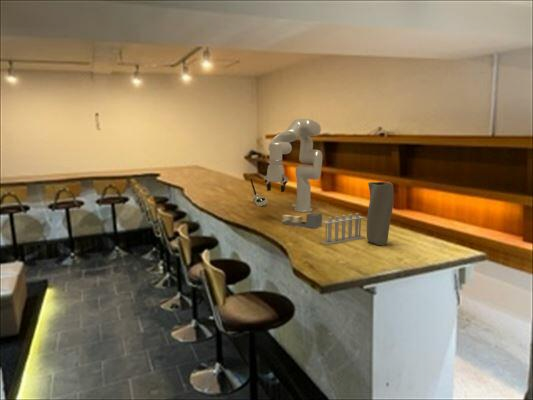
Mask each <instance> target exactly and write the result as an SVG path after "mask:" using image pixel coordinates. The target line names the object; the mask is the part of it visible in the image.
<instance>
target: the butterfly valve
mask: <svg viewBox="0 0 533 400" xmlns="http://www.w3.org/2000/svg"><path fill="white" fill-rule="evenodd" d="M249 180H250V184H251V187H252V190H253V197H252V202H253V203H254V204H255V205H256V206H257V207H261V206H265V205H267V204H268V203H269V201H268V199H267V197H262V196H261V194H259V193H257V191H256V188H255V185H254V181H253V179H252V178H251V177H250V178H249Z"/></svg>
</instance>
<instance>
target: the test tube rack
mask: <svg viewBox="0 0 533 400" xmlns="http://www.w3.org/2000/svg"><path fill="white" fill-rule="evenodd" d="M365 218H366V217H365V216H361V215H360V213H358V212H355V214H354V216H353V214H352V213H349V214H348V217H346V214H342V216H341V218H340V216H339V215H336V216H335V218H334V219H333V217H332V216H328V218H327V219H328V220H324V221H323V220H322V224H325V235H324V236H325V237H324V239H325V240H324V241H323V240H322V241H321V242H320V243H321V244H323V245H325V246H328V245H333V244H339V243H344V242H350V241H355V240H359V239H360V240H361V239H365V236H363V235H361V234H362V233H361V227H362V226H361V225H362V223H361V222H362V219H365ZM353 221H354V235H352V233H353V232H352V231H353ZM346 222H348V229H347V232H348V234H347V236H346ZM339 223H341V237H340V238H339V228H340V227H339V226H340V224H339ZM332 224H334V239H333V238H332V235H333V234H332V233H333V232H332V231H333V229H332V226H333V225H332Z"/></svg>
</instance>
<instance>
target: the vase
mask: <svg viewBox="0 0 533 400" xmlns="http://www.w3.org/2000/svg"><path fill="white" fill-rule="evenodd" d="M367 184H368V190H369V204H368V210H367V216H366V239H367V241H368V242H369V243H371V244H374V245H378V246H386V245H387V243H388V241H389V240H388V239H389V232H390V225H391V219H392V213H393V209H394V202H395V201H394V200H395V194H394V193H395V192H394V191H395V190H394V184H393V183H391V182H387V181H376V182H375V181H371V182H368V183H367ZM385 244H386V245H385Z"/></svg>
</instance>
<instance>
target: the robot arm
mask: <svg viewBox="0 0 533 400" xmlns="http://www.w3.org/2000/svg"><path fill="white" fill-rule="evenodd" d="M321 129H322V128H321V125H320V123H319V122H317V121H314V120H313V119H310V118H298V119H294V120H293V121H292V122H291V124H290V125H289V126H288V128H287V129H286V130H285V131H283V132H281V133H279V134H277V135H276V136H275V135H274V137H273V138H272V139H271V140H270V143H269V145H268V151H269V160H268V161H267V163H268V164H269V165H267V170H266V171H267V172H266V175H264V176H263V180H264V182H265V184H266V189H267V190H266V191H267V192H269V191H272V185H271V183H280V192H281V193H285V190H286V185H287V183H288V181H289V177H287V176H286V175H285V169H284V165H283V155H288V154H290V153H291V151H292V149H293V147H292V144H291V143H292V142H295V141H296V140H297V139H298V138H299V141H300V148H299V158H298V160H299V162H300V163H301V164H300V165H298V166H296V168H295V170H294V171H295V173H294V174H295V178H296V203H292V204H291V207H293V208H294V211H295V212H299V213H308V212H309V213H310V212H312V211H313V210H314V209H313V208H311V197H312V196H311V195H312V194H311V190H312V189H311V186H312V185H311V183H310V181H311V180H315V181H316V180H319V179H320V178H321V174H322V166H323V153H322V151H321V150H319V149H313V148H314V141H313V139H312V138H311V136H312V137H313V136H314V137H317V136H319V135H320V134H321V131H322V130H321ZM308 164H309V165H308ZM311 164H312V165H311ZM309 180H310V181H309Z"/></svg>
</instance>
